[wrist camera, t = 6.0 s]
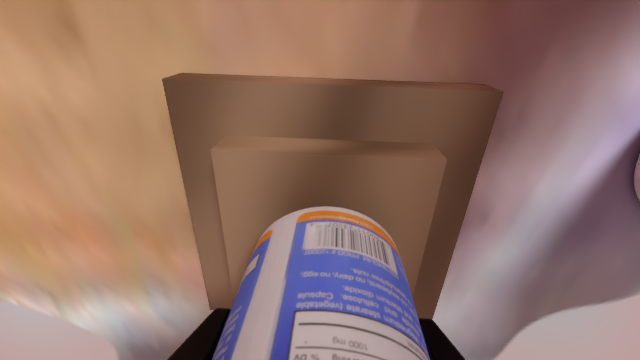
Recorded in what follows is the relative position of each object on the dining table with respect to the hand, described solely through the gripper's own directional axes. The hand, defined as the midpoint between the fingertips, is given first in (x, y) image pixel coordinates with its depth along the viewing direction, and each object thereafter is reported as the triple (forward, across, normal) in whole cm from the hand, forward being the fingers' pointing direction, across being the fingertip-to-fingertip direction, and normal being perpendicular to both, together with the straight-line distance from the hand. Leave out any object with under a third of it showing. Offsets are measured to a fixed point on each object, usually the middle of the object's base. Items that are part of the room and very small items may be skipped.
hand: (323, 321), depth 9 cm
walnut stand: (+6, 0, 0) cm, 6 cm away
